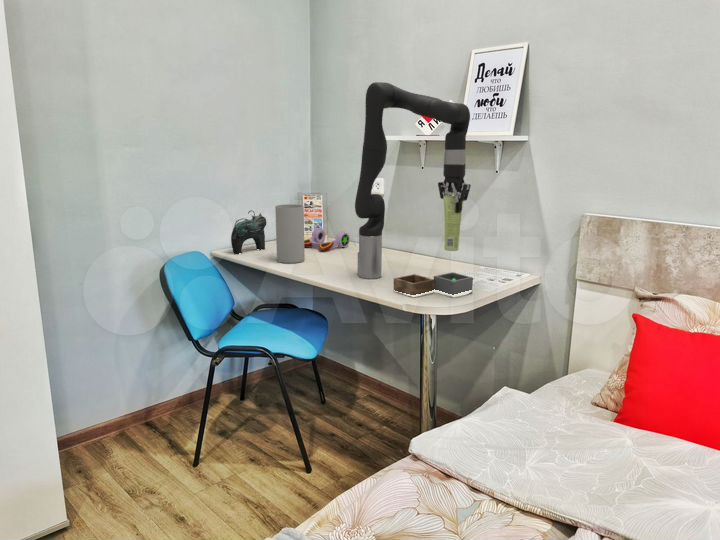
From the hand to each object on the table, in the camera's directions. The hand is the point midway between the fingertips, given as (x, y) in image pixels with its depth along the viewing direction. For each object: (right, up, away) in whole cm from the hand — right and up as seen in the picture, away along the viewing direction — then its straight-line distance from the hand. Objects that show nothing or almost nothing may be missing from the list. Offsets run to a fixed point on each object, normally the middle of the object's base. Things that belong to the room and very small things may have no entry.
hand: (453, 211), depth 199 cm
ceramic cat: (-87, -12, +78) cm, 117 cm away
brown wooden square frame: (-13, -29, +8) cm, 33 cm away
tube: (0, -14, +3) cm, 14 cm away
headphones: (-52, -9, +88) cm, 103 cm away
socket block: (+1, -29, +7) cm, 30 cm away
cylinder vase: (-65, -17, +58) cm, 88 cm away
